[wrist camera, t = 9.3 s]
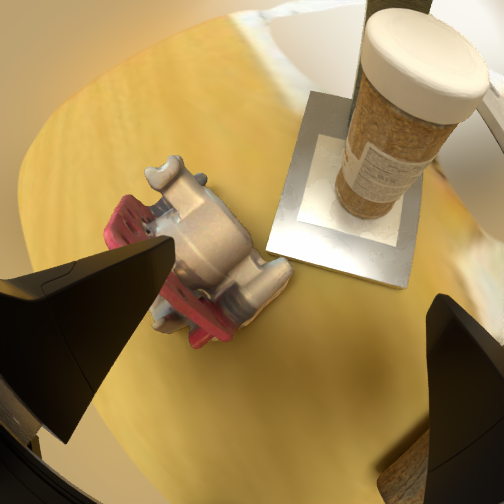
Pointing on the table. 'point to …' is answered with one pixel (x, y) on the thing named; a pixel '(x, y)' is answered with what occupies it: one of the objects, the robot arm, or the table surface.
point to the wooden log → (407, 475)
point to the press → (328, 204)
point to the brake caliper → (199, 256)
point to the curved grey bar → (493, 112)
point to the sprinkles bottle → (405, 106)
